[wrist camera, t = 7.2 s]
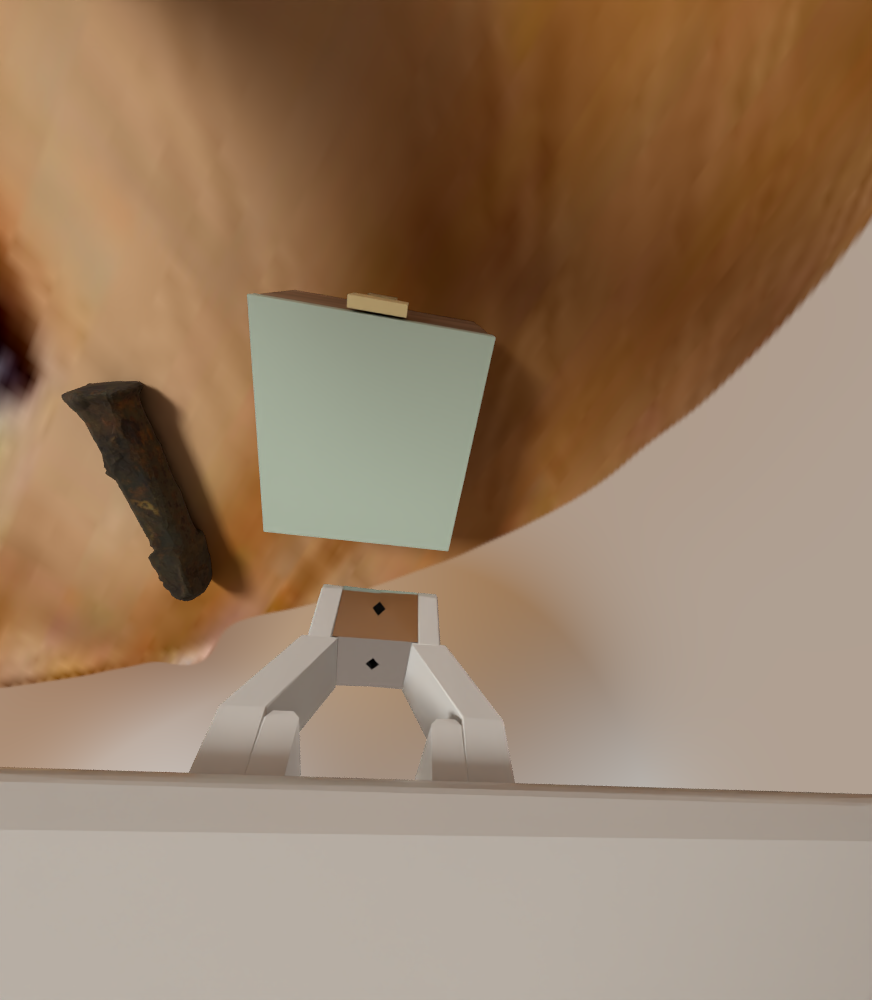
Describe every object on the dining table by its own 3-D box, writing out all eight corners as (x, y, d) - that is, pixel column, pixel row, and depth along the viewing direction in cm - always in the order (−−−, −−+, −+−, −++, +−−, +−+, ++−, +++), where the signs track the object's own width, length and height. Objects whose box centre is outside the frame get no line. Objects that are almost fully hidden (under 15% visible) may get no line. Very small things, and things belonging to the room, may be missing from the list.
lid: (265, 276, 20) (245, 276, 18) (490, 317, 22) (499, 321, 20) (276, 510, 28) (263, 531, 25) (445, 529, 29) (448, 551, 27)
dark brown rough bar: (91, 377, 28) (35, 395, 24) (148, 376, 28) (102, 393, 24) (184, 577, 37) (155, 614, 33) (225, 576, 37) (202, 612, 33)
